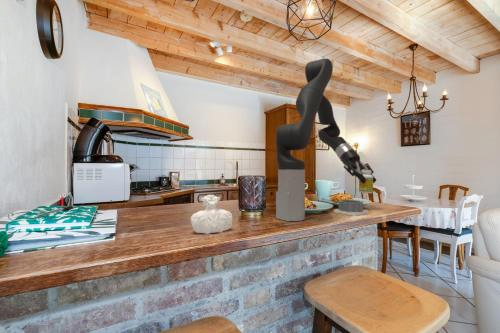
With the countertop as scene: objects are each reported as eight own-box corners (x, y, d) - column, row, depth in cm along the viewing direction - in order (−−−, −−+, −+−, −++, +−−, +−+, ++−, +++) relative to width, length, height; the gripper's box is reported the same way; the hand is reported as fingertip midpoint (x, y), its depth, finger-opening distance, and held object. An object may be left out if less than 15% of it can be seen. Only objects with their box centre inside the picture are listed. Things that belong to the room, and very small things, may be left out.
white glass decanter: (231, 236, 70) (224, 202, 76) (238, 224, 64) (230, 189, 71) (190, 241, 65) (186, 205, 72) (193, 229, 60) (189, 191, 66)
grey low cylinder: (355, 216, 88) (355, 203, 88) (333, 212, 95) (333, 201, 95) (368, 213, 93) (368, 201, 93) (346, 209, 101) (346, 199, 101)
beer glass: (368, 193, 97) (368, 170, 98) (356, 192, 102) (356, 169, 102) (375, 193, 100) (375, 170, 100) (363, 191, 105) (363, 169, 105)
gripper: (340, 147, 105) (363, 175, 94) (362, 149, 111) (387, 175, 100) (331, 160, 110) (352, 188, 99) (353, 161, 116) (375, 187, 105)
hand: (369, 181), depth 100 cm, fingers closed on beer glass, 5 cm apart
